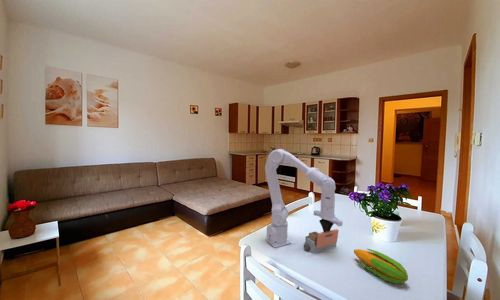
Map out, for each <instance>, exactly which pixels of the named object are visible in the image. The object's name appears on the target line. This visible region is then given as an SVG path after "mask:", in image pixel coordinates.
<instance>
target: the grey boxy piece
mask: <svg viewBox="0 0 500 300" xmlns="http://www.w3.org/2000/svg"><path fill="white" fill-rule="evenodd" d="M322 232H323V231H322ZM322 232H320V233H322ZM304 238H305V239H304V240H305V241H304V244H303V249H304V251H305V252H309V253H311V254H317V253H320V252H323V251H327V250H330V249H333V248H336V247H337V243H333V244H330V245H326V246H323V247H319V248H317V247H316V246H315V242H314V241H313V240H311V239H309V235H306V236H305V237H304Z"/></svg>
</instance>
